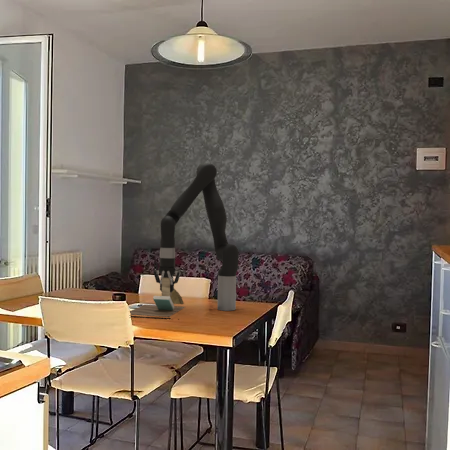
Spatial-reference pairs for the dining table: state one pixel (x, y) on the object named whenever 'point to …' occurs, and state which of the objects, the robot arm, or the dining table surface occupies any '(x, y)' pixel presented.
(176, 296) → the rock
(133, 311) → the board
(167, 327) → the dining table surface
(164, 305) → the tile
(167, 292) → the block
